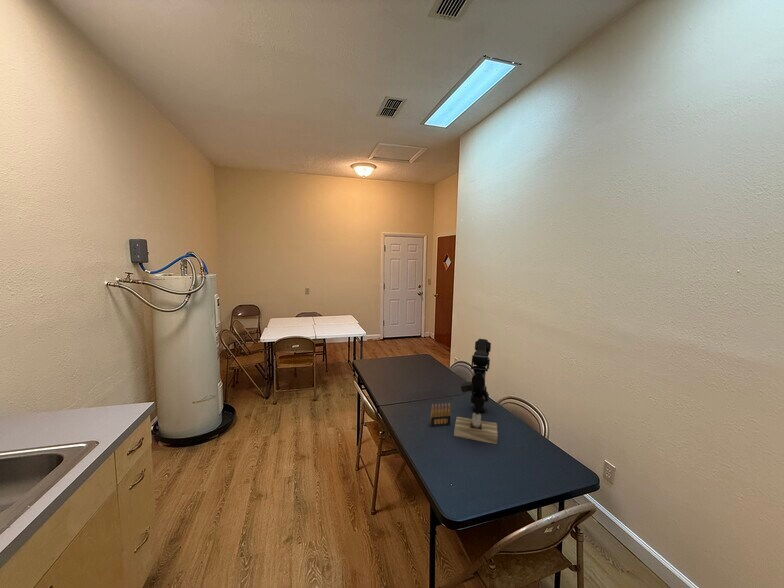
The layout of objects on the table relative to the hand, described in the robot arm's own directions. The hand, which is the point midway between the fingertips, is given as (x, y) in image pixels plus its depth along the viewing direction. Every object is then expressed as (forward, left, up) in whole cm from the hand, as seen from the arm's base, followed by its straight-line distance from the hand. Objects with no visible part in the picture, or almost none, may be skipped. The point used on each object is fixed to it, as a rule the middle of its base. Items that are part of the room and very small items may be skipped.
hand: (477, 409), depth 156 cm
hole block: (0, 0, -13) cm, 13 cm away
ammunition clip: (-2, -18, -13) cm, 22 cm away
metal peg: (0, 0, -13) cm, 13 cm away
